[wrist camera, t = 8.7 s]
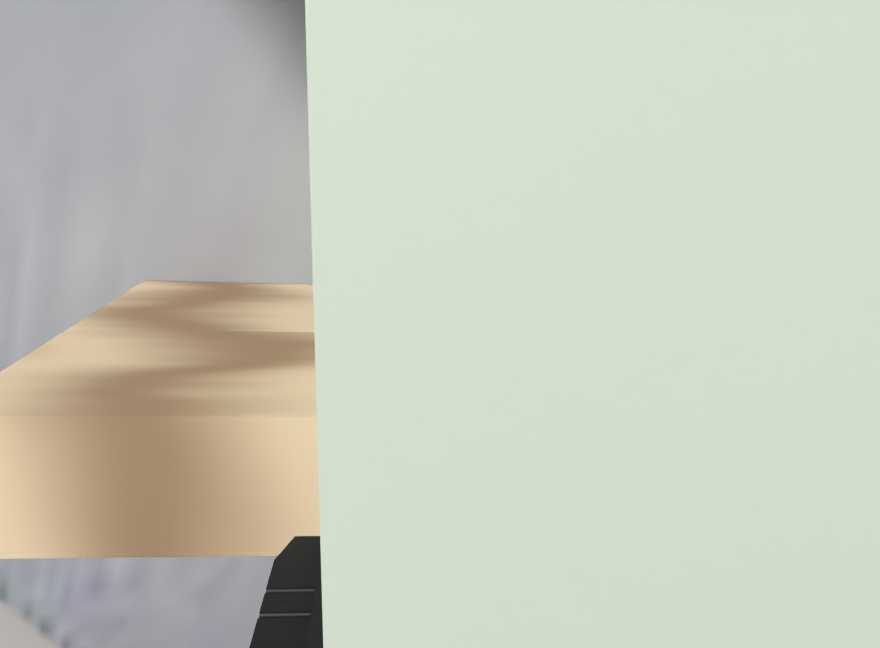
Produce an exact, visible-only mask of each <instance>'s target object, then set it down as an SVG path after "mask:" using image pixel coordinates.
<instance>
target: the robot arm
mask: <svg viewBox="0 0 880 648" xmlns="http://www.w3.org/2000/svg"><path fill="white" fill-rule="evenodd" d="M250 648H323V618H322V583H321V548H320V536H295V537H294V538H293V539H292V540H291V541H290V542H289V544H288V545H287V546H286V547H285V548H284V549H283V551H282V552H281V553H280V554H279V555H278V556H277V557H276V559H275V560H274V563H273V567H272V570H271V574H270V577H269V581H268V584H267V588H266V594H265V595H264V598H263V602H262V606H261V609H260V616H259V618H258V620H257V623H256V627H255V630H254V634H253V637H252V641H251V644H250Z"/></svg>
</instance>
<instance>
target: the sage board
mask: <svg viewBox="0 0 880 648" xmlns="http://www.w3.org/2000/svg"><path fill="white" fill-rule="evenodd" d="M305 22H306V57H307V92H308V127H309V162H310V197H311V232H312V267H313V302H314V337H315V373H316V408H317V443H318V478H319V513H320V548H321V583H322V618H323V648H880V0H305Z"/></svg>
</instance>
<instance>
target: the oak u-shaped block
mask: <svg viewBox="0 0 880 648" xmlns="http://www.w3.org/2000/svg"><path fill="white" fill-rule="evenodd" d="M295 536H320V513H319V478H318V443H317V408H316V373H315V337H314V302H313V285H309V284H264V283H219V282H175V281H143V282H141V283H140V284H138V285H137V286H135V287H133V288H132V289H130V290H129V291H127V292H126V293H124V294H122V295H121V296H119V297H118V298H116V299H115V300H113V301H111V302H110V303H108V304H107V305H105V306H104V307H102V308H100V309H99V310H97V311H96V312H94V313H92V314H91V315H89V316H88V317H86V318H85V319H83V320H81V321H80V322H78V323H77V324H75V325H74V326H72V327H70V328H69V329H67V330H66V331H64V332H62V333H61V334H59V335H58V336H56V337H55V338H53V339H51V340H50V341H48V342H47V343H45V344H44V345H42V346H40V347H39V348H37V349H36V350H34V351H32V352H31V353H29V354H28V355H26V356H25V357H23V358H21V359H20V360H18V361H17V362H15V363H14V364H12V365H10V366H9V367H7V368H6V369H4V370H3V371H1V372H0V559H17V558H111V557H205V556H278V555H279V554H280V553H281V552H282V551H283V549H284V548H285V547H286V546H287V545H288V544H289V542H290V541H291V540H292V539H293V538H294V537H295Z"/></svg>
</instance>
